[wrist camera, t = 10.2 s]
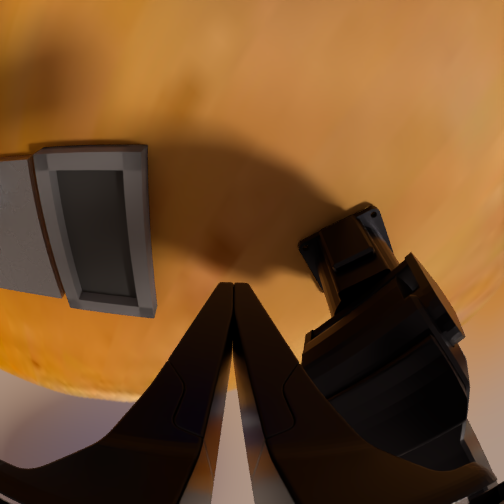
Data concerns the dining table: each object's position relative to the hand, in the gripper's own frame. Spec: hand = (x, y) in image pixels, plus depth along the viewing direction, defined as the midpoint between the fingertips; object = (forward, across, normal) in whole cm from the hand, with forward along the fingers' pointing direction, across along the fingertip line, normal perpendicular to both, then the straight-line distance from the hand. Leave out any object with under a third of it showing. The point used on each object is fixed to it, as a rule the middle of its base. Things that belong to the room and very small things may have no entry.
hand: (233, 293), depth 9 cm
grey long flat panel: (+12, +31, +4) cm, 34 cm away
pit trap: (+12, +10, +6) cm, 17 cm away
